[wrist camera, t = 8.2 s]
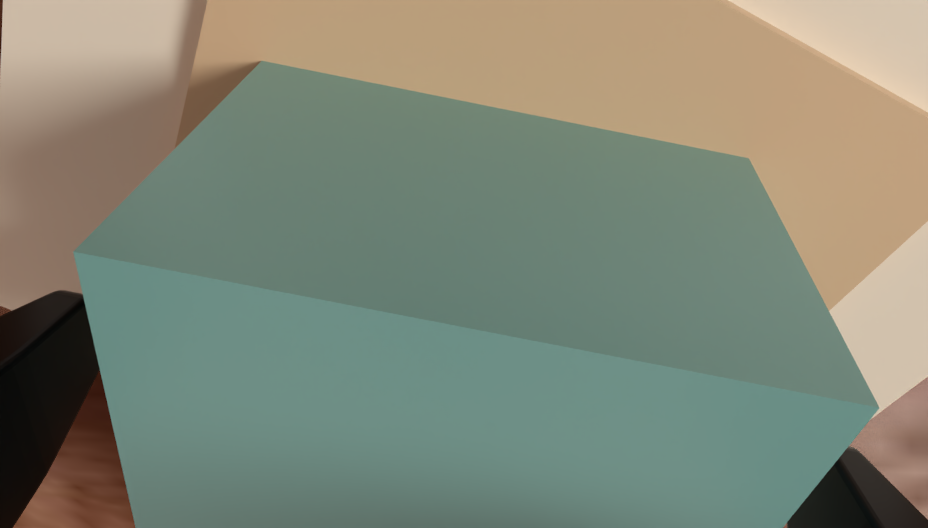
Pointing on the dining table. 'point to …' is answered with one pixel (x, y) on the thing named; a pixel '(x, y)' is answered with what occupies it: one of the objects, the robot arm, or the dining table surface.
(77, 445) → the dining table surface
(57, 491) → the dining table surface
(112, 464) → the dining table surface
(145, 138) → the board
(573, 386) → the mint green cube
